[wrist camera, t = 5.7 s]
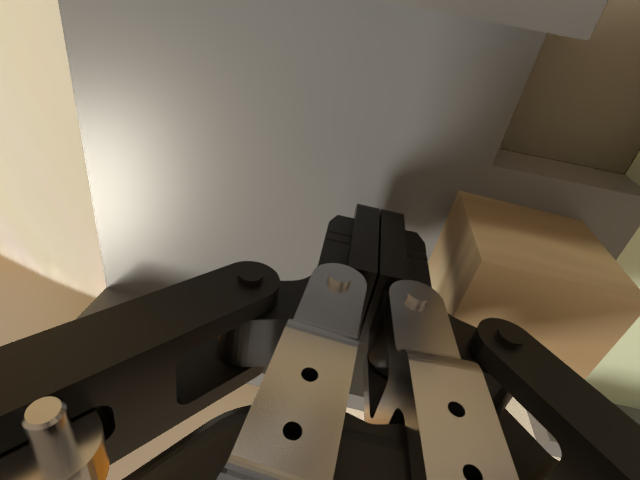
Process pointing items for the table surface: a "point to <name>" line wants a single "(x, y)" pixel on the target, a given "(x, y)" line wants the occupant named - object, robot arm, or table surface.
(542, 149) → the table surface
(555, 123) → the table surface
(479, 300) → the birch block
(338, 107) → the trap box
